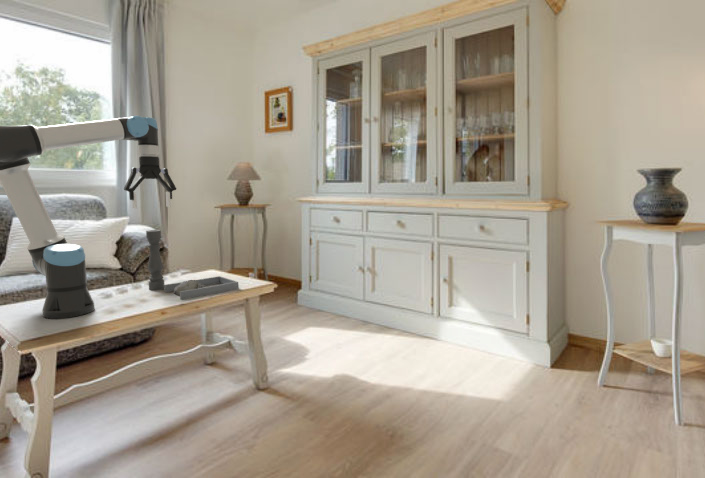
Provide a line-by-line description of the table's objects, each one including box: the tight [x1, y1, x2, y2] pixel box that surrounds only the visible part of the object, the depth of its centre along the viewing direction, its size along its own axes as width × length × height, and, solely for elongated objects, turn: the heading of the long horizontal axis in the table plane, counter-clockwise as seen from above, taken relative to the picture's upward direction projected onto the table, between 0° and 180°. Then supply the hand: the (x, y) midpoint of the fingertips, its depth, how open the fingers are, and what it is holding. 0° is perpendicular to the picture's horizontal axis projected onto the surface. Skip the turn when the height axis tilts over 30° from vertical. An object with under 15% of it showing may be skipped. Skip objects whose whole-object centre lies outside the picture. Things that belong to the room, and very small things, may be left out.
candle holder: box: [145, 229, 165, 291], centre depth 184 cm, size 6×6×25 cm
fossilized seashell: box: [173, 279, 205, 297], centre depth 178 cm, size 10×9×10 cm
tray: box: [164, 275, 240, 300], centre depth 181 cm, size 25×17×3 cm
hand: (152, 207), depth 181 cm, fingers open, 13 cm apart
